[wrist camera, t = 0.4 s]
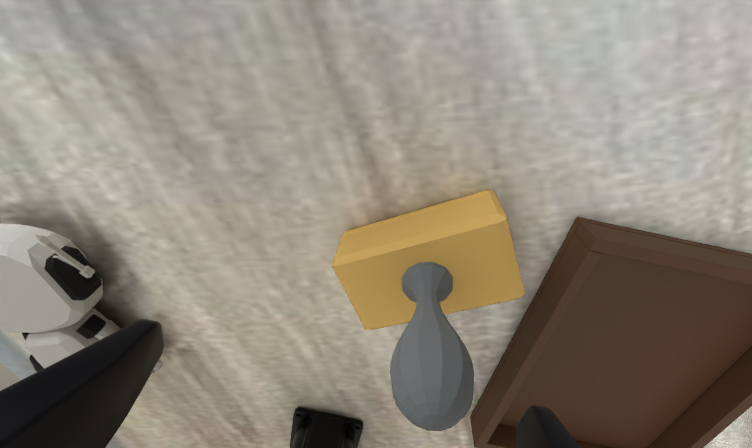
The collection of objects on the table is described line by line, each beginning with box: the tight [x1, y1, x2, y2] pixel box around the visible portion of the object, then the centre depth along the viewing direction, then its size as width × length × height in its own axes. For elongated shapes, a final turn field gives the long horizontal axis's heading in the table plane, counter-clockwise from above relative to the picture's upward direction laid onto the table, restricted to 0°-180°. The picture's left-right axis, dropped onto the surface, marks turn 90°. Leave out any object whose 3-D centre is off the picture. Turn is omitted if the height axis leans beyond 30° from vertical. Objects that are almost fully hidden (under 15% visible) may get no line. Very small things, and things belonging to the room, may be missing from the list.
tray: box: [470, 217, 752, 448], centre depth 25 cm, size 21×16×3 cm
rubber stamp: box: [332, 190, 525, 431], centre depth 18 cm, size 10×6×12 cm, turn 111°
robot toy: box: [0, 224, 162, 373], centre depth 27 cm, size 12×4×15 cm
